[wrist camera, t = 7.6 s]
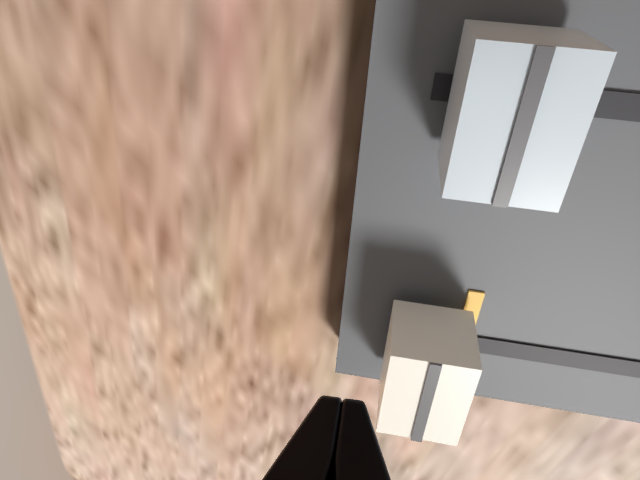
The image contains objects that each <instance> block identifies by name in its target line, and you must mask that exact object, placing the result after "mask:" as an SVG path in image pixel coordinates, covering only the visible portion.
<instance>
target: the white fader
mask: <svg viewBox="0 0 640 480" xmlns="http://www.w3.org/2000/svg"><path fill="white" fill-rule="evenodd" d="M616 54H617V52H616V51H615V50H613V49H611V48H610V47H608V46H606V45H604V44H603V43H601V42H599V41H598V40H596V39H594V38H593V37H591V36H589V35H588V34H586V33H584V32H583V31H581V30H579V29H572V28H560V27H549V26H538V25H526V24H515V23H504V22H492V21H481V20H470V19H465V21H464V26H463V31H462V36H461V41H460V46H459V51H458V56H457V61H456V66H455V71H454V76H453V81H452V86H451V90H450V95H449V100H448V105H447V110H446V115H445V120H444V125H443V130H442V135H441V140H440V145H439V150H438V155H437V156H438V166H439V175H440V185H441V195H442V198H445V199H453V200H461V201H469V202H477V203H485V204H492V206H495V207H503V208H508V206H509V207H517V208H525V209H533V210H541V211H548V212H556V213H558V212H559V209H560V207H561V204H562V201H563V198H564V196H565V193H566V190H567V188H568V185H569V182H570V179H571V177H572V174H573V171H574V168H575V166H576V163H577V160H578V158H579V155H580V152H581V149H582V147H583V144H584V141H585V138H586V136H587V133H588V130H589V128H590V125H591V122H592V119H593V117H594V114H595V111H596V108H597V106H598V103H599V100H600V97H601V95H602V92H603V89H604V87H605V84H606V81H607V78H608V76H609V73H610V70H611V67H612V65H613V62H614V59H615V57H616Z"/></svg>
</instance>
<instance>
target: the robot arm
mask: <svg viewBox="0 0 640 480" xmlns="http://www.w3.org/2000/svg"><path fill="white" fill-rule="evenodd" d="M262 480H391V479H390V476H389V473H388V470H387V467H386V464H385V461H384V458H383V455H382V452H381V449H380V446H379V443H378V440H377V437H376V434H375V431H374V428H373V425H372V422H371V419H370V417H369V414H368V411H367V408H366V405H365V403H364V402H363V401H360V400H353V399H344V400H343V402H342V400H341V399H340V398H338V397H331V396H321V397H320V398H319V399H318V400H317V402H316V403H315V405H314V406H313V408H312V409H311V410H310V412H309V413H308V415H307V416H306V418H305V419H304V420H303V422H302V423H301V425H300V426H299V428H298V429H297V430H296V432H295V433H294V435H293V436H292V438H291V439H290V440H289V442H288V443H287V445H286V446H285V448H284V449H283V450H282V452H281V453H280V455H279V456H278V458H277V459H276V460H275V462H274V463H273V465H272V466H271V468H270V469H269V471H268V472H267V473H266V475H265V476H264V478H263V479H262Z"/></svg>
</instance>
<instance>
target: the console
mask: <svg viewBox="0 0 640 480" xmlns="http://www.w3.org/2000/svg"><path fill="white" fill-rule="evenodd" d="M465 19H470V20H481V21H492V22H504V23H515V24H526V25H538V26H549V27H560V28H572V29H579V30H581V31H583V32H584V33H586V34H588V35H589V36H591V37H593V38H594V39H596V40H598V41H599V42H601V43H603V44H604V45H606V46H608V47H610V48H611V49H613V50H615V51H616V52H617V54H616V57H615V59H614V62H613V65H612V67H611V70H610V73H609V76H608V78H607V81H606V84H605V87H604V89H603V92H602V95H601V97H600V100H599V103H598V106H597V108H596V111H595V114H594V117H593V119H592V122H591V125H590V128H589V130H588V133H587V136H586V138H585V141H584V144H583V147H582V149H581V152H580V155H579V158H578V160H577V163H576V166H575V168H574V171H573V174H572V177H571V179H570V182H569V185H568V188H567V190H566V193H565V196H564V198H563V201H562V204H561V207H560V209H559V212H558V213H556V212H548V211H541V210H533V209H525V208H517V207H509V206H508V208H503V207H495V206H492V204H485V203H477V202H469V201H461V200H453V199H445V198H442V195H441V185H440V175H439V166H438V156H437V155H438V150H439V145H440V140H441V135H442V130H443V125H444V120H445V115H446V110H447V105H448V100H449V95H450V90H451V86H452V81H453V76H454V71H455V66H456V61H457V56H458V51H459V46H460V41H461V36H462V31H463V26H464V21H465ZM394 300H400V301H407V302H414V303H420V304H427V305H434V306H441V307H447V308H454V309H461V310H468V311H473V313H474V319H475V326H476V332H477V339H478V345H479V352H480V358H481V365H482V373H481V376H480V379H479V382H478V385H477V388H476V391H475V394H474V395H475V396H481V397H487V398H493V399H499V400H505V401H511V402H517V403H523V404H529V405H535V406H541V407H547V408H553V409H559V410H565V411H571V412H577V413H583V414H589V415H596V416H602V417H608V418H614V419H620V420H626V421H632V422H638V423H640V0H376V5H375V14H374V24H373V33H372V42H371V51H370V60H369V69H368V78H367V87H366V97H365V106H364V115H363V124H362V133H361V142H360V151H359V160H358V169H357V179H356V188H355V197H354V206H353V215H352V224H351V233H350V242H349V252H348V261H347V270H346V279H345V288H344V297H343V306H342V315H341V325H340V334H339V343H338V352H337V361H336V370H335V372H337V373H343V374H349V375H355V376H361V377H367V378H373V379H379V380H380V374H381V368H382V362H383V356H384V351H385V345H386V340H387V334H388V329H389V323H390V318H391V312H392V307H393V301H394Z"/></svg>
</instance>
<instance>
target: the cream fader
mask: <svg viewBox="0 0 640 480" xmlns="http://www.w3.org/2000/svg"><path fill="white" fill-rule="evenodd" d="M481 373H482V365H481V358H480V352H479V345H478V339H477V332H476V326H475V319H474V313H473V311H468V310H461V309H454V308H447V307H441V306H434V305H427V304H420V303H414V302H407V301H400V300H394V301H393V307H392V312H391V318H390V323H389V329H388V334H387V340H386V345H385V351H384V356H383V362H382V368H381V374H380V387H379V400H378V413H377V426H376V432H380V433H386V434H392V435H397V436H403V437H409V438H411V440H413V441H418V442H422V440H426V441H431V442H437V443H443V444H448V445H454V446H457V444H458V441H459V438H460V435H461V432H462V429H463V426H464V423H465V420H466V417H467V414H468V412H469V409H470V406H471V403H472V400H473V397H474V394H475V391H476V388H477V385H478V382H479V379H480V376H481Z"/></svg>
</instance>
